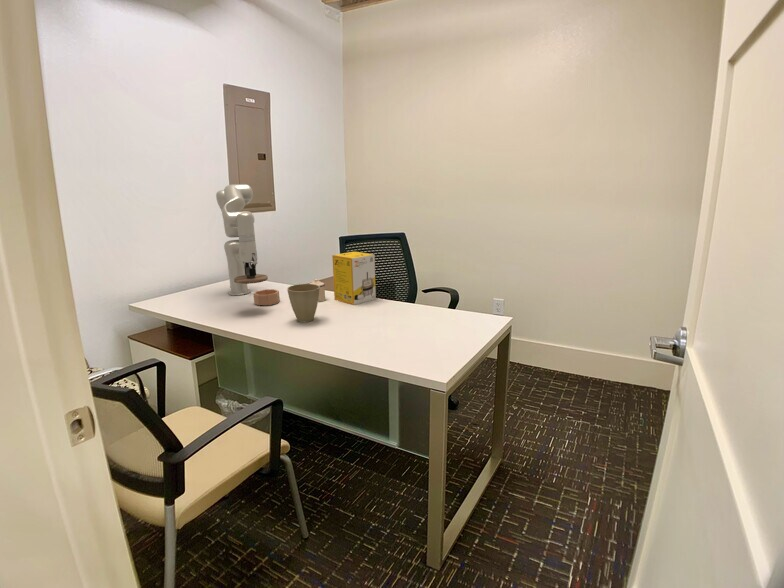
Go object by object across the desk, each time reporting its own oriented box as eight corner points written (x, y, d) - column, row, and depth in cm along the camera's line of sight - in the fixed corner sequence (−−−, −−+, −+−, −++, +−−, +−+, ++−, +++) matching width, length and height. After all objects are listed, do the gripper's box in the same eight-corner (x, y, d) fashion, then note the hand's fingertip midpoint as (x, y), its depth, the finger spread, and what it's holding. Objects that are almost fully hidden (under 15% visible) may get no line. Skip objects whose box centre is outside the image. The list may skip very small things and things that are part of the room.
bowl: (251, 303, 239) (249, 292, 237) (271, 298, 247) (270, 288, 246) (262, 307, 230) (261, 296, 229) (283, 302, 239) (282, 291, 237)
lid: (228, 280, 219) (227, 268, 218) (257, 275, 230) (256, 263, 228) (243, 285, 208) (242, 272, 206) (273, 279, 219) (272, 267, 217)
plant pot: (286, 325, 202) (283, 291, 198) (293, 315, 216) (291, 283, 212) (318, 324, 201) (316, 291, 197) (323, 315, 216) (322, 283, 212)
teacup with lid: (329, 299, 244) (328, 278, 241) (316, 302, 237) (315, 281, 234) (314, 296, 251) (313, 276, 248) (302, 299, 244) (300, 279, 242)
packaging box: (356, 294, 254) (354, 251, 248) (375, 299, 243) (374, 254, 237) (334, 299, 243) (332, 255, 236) (353, 305, 232) (351, 258, 225)
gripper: (231, 238, 217) (235, 274, 222) (248, 241, 205) (251, 279, 210) (246, 236, 222) (249, 271, 227) (262, 239, 211) (266, 276, 215)
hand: (250, 274), depth 218 cm, fingers closed on lid, 4 cm apart
